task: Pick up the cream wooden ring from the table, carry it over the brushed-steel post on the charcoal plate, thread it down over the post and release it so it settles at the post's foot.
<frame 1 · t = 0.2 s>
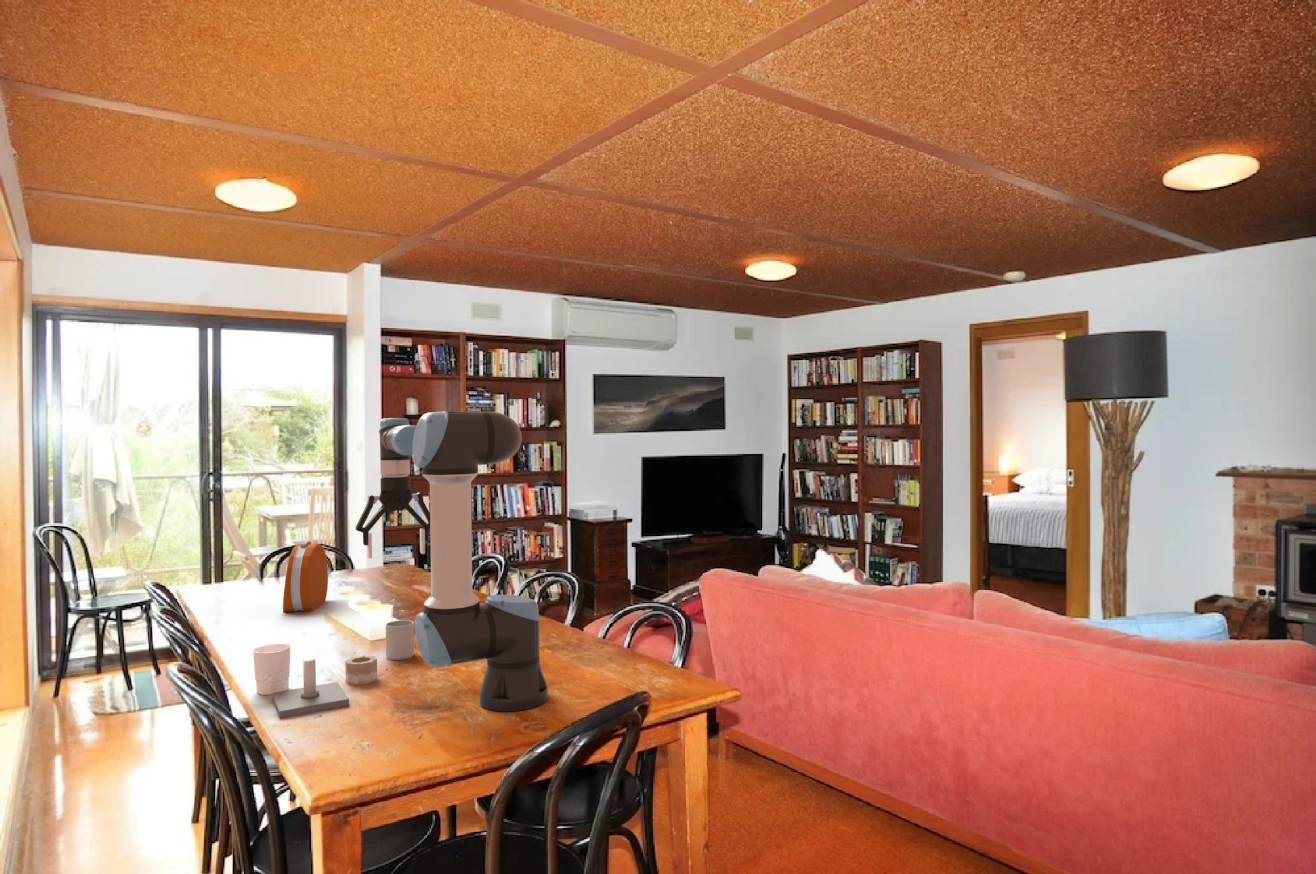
hand: (396, 555, 213), 27 cm above the table, fingers open, 13 cm apart
post base: (310, 702, 179), on the table
white cup: (272, 691, 187), on the table
ring: (361, 680, 194), on the table
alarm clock: (304, 607, 276), on the table
cup: (398, 656, 215), on the table
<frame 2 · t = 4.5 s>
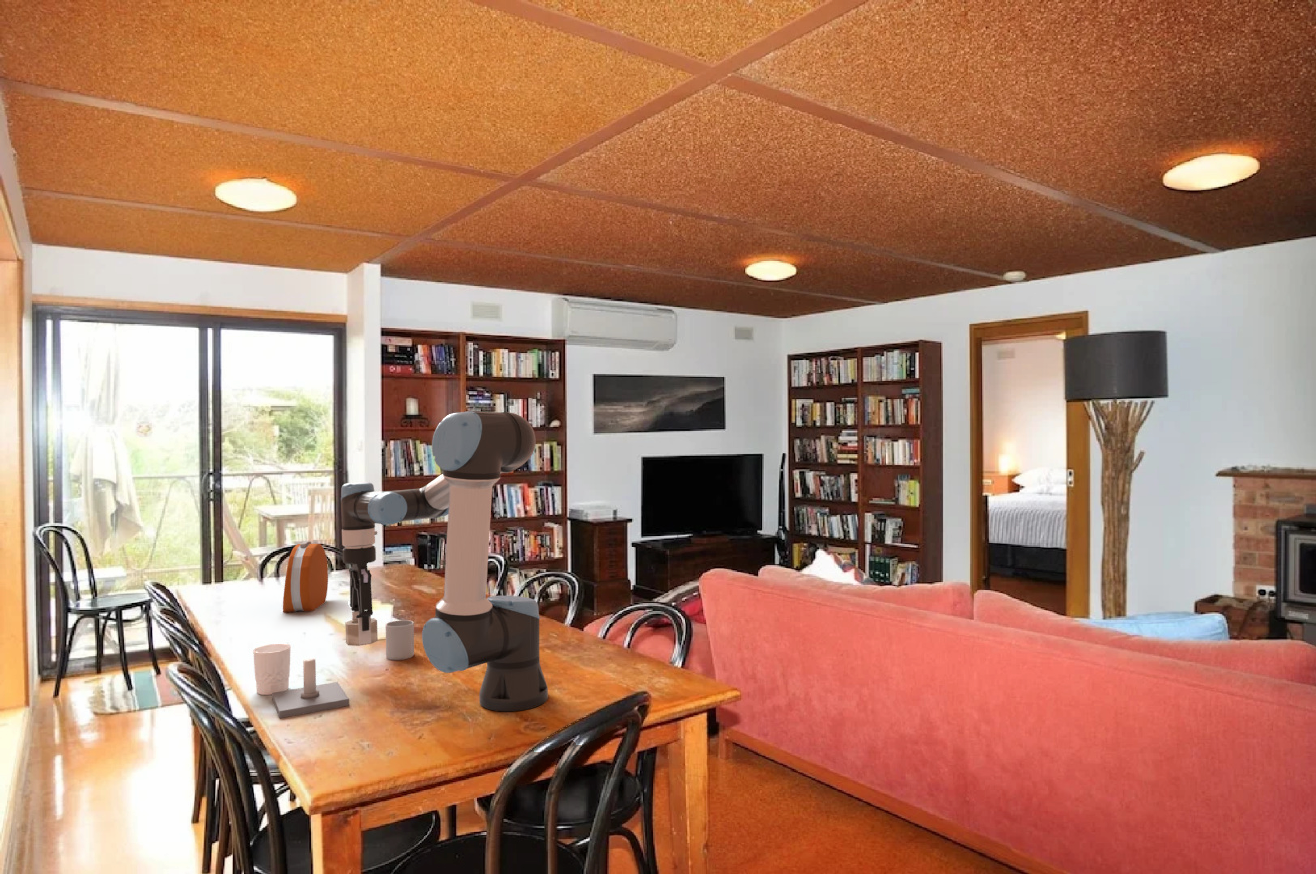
hand: (361, 640, 194), 10 cm above the table, fingers closed on ring, 7 cm apart
ring: (361, 642, 194), point 9 cm above the table, touching gripper
everything else where it was.
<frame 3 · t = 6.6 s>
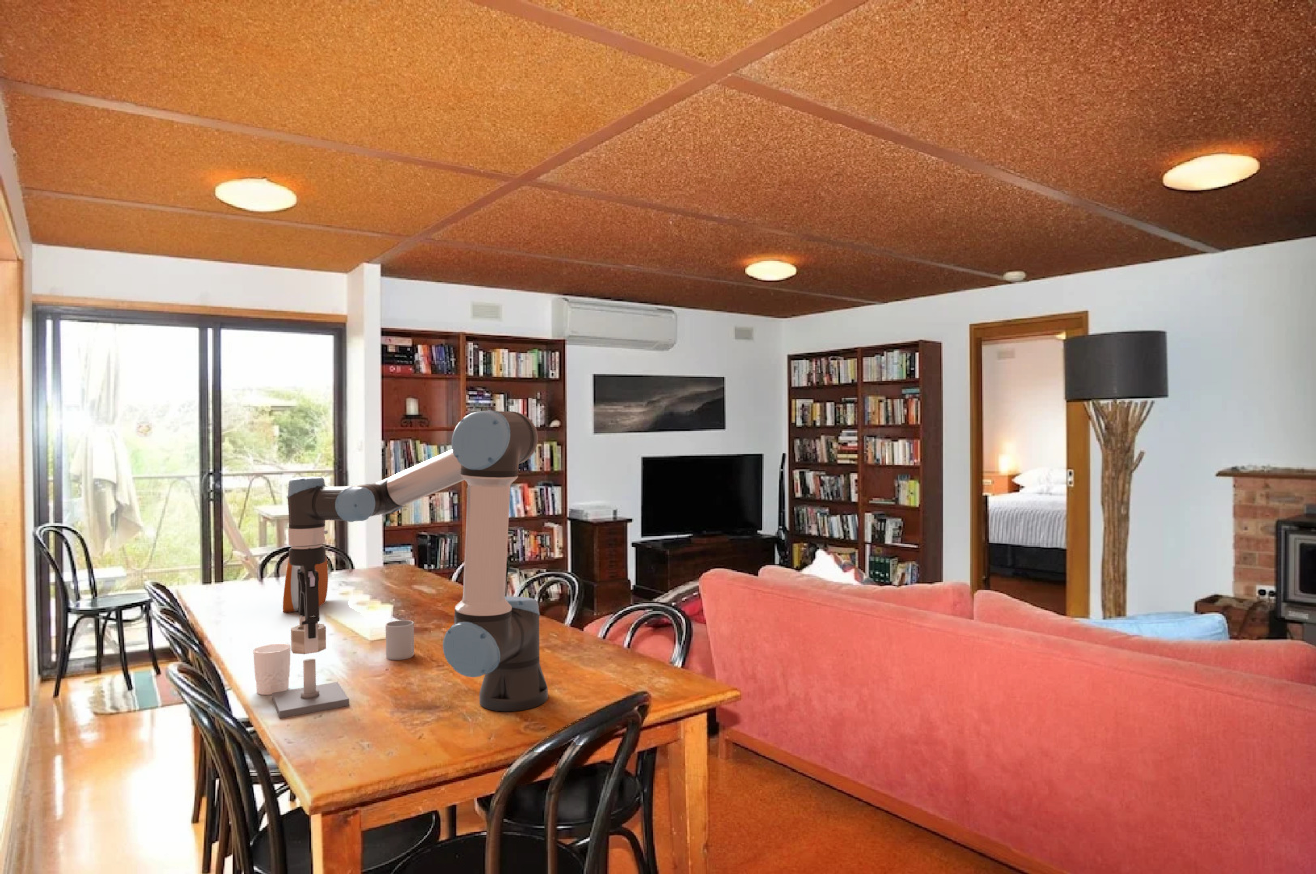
hand: (308, 648, 179), 12 cm above the table, fingers closed on ring, 7 cm apart
ring: (308, 649, 179), point 12 cm above the table, touching gripper
everything else where it was.
when the fingers open (4 cm above the table, at t = 8.8 s): ring drops 2 cm, resting on post base.
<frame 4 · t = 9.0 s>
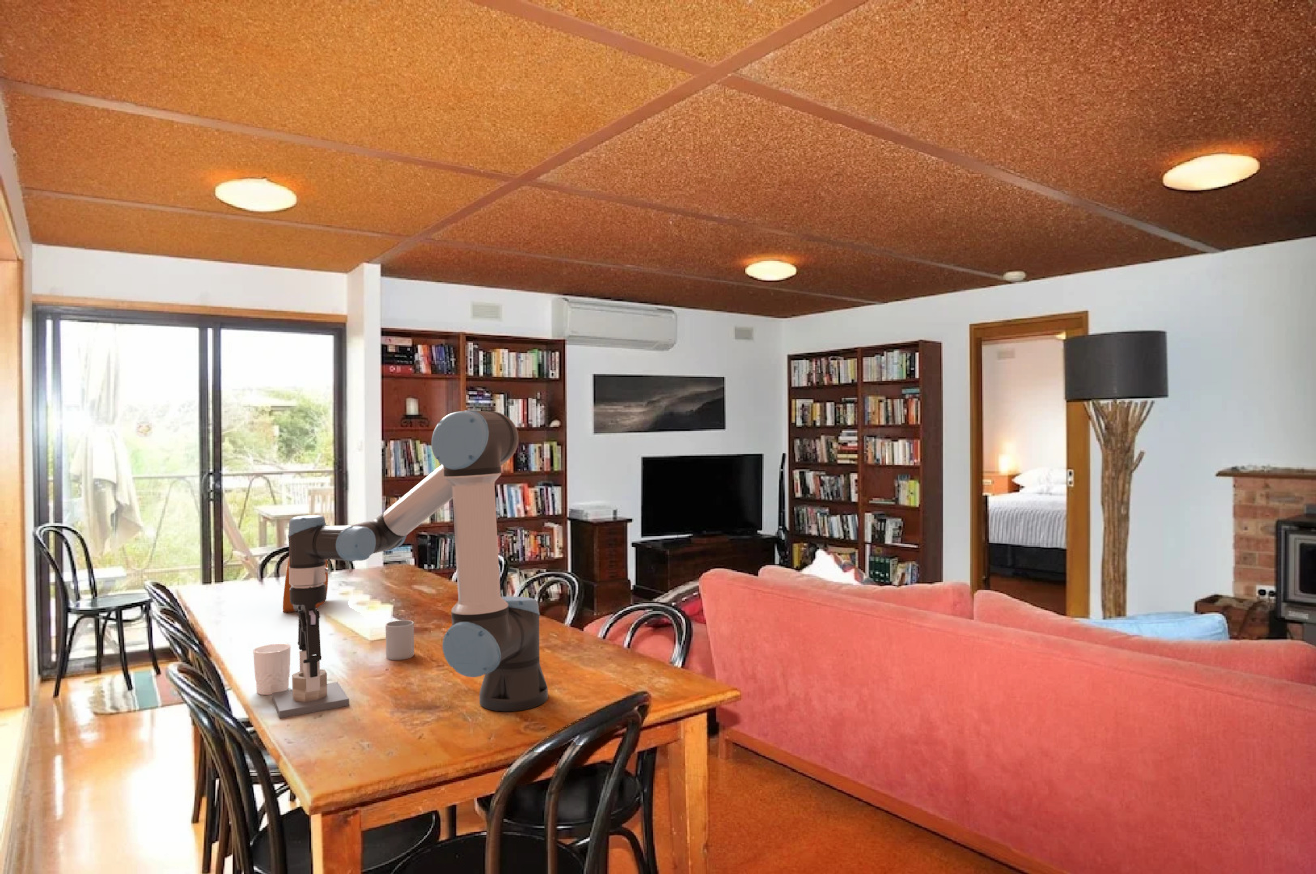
hand: (309, 684, 179), 4 cm above the table, fingers open, 9 cm apart
ring: (309, 696, 179), point 1 cm above the table, touching post base
everything else where it was.
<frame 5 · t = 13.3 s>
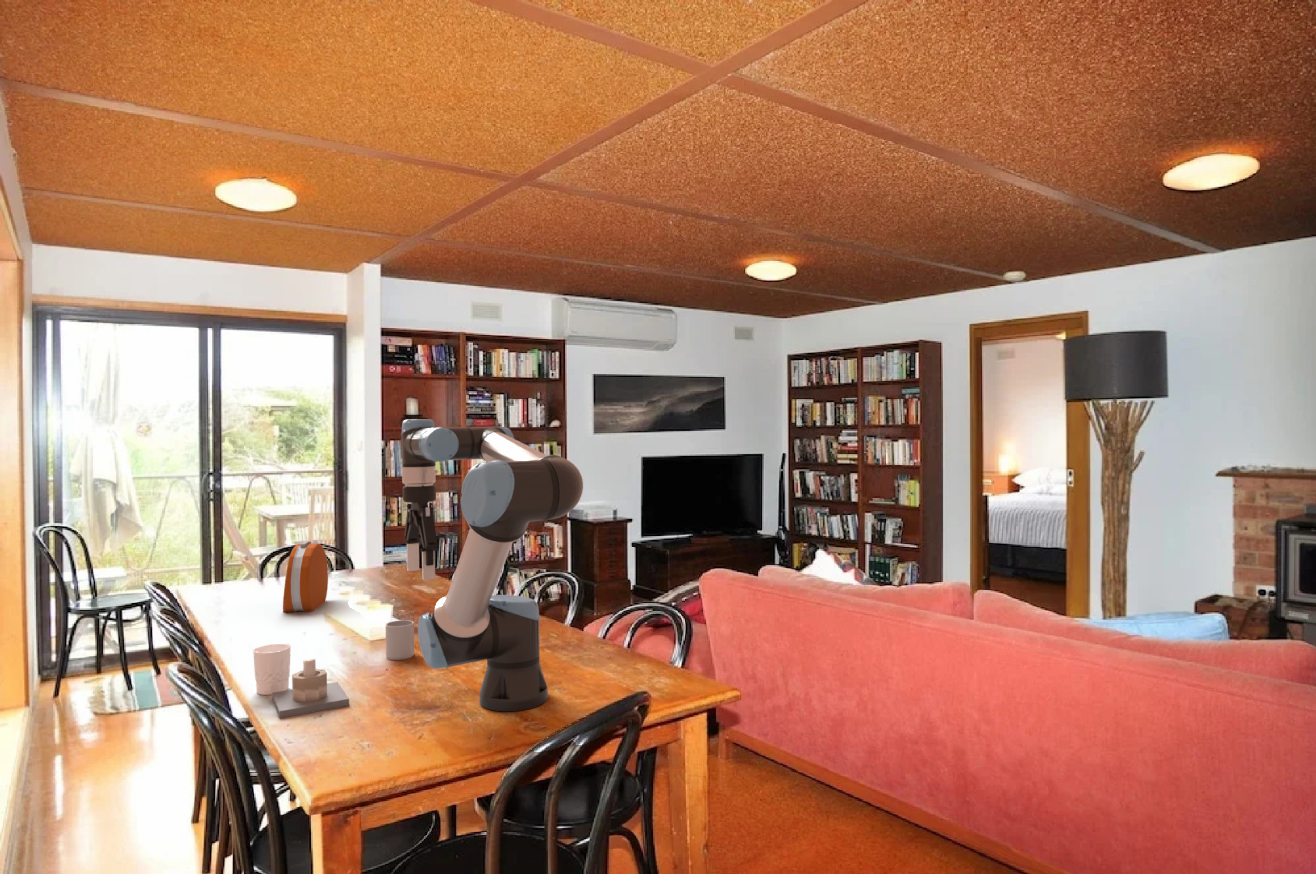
hand: (420, 575, 187), 27 cm above the table, fingers open, 13 cm apart
nothing on the table moved.
at the end: ring 0.1 cm off-centre on the post base, point 1.5 cm above the post base's base; the gripper is holding nothing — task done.
